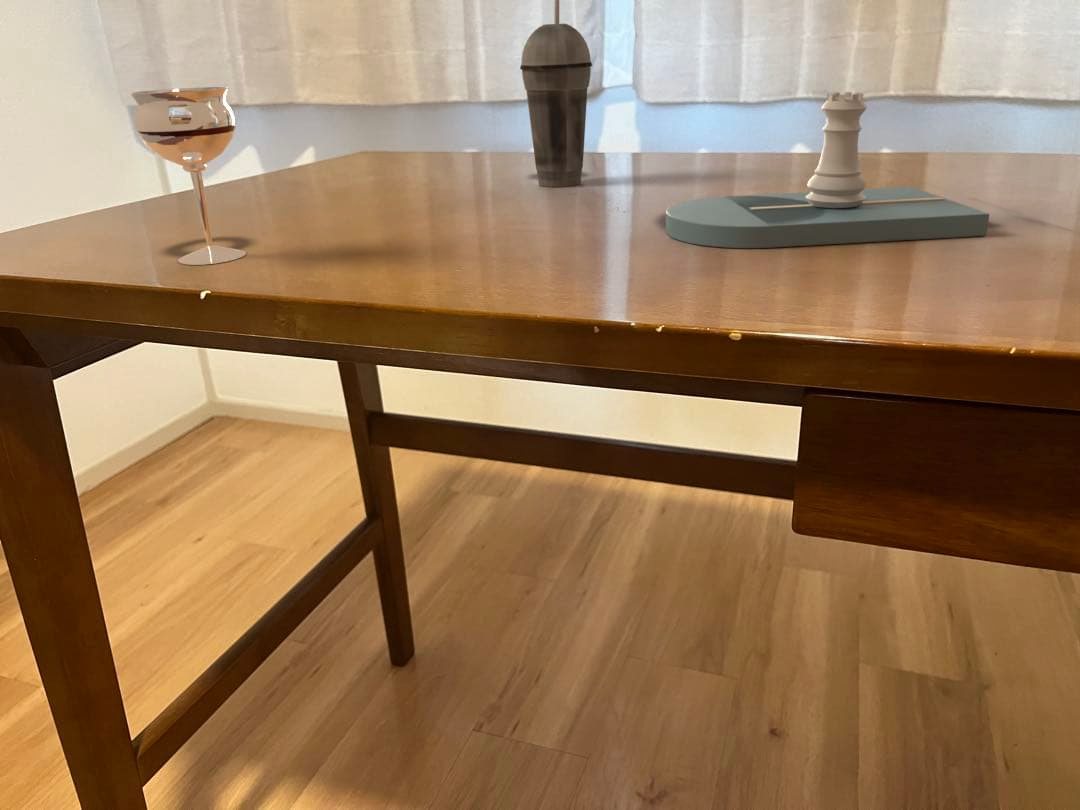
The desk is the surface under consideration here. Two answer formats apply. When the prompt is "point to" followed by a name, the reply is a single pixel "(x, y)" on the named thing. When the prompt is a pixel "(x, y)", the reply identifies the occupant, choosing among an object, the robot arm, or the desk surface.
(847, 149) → the rook chess piece
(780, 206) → the board
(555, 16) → the beverage cup
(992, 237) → the desk surface
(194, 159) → the wineglass
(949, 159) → the desk surface
